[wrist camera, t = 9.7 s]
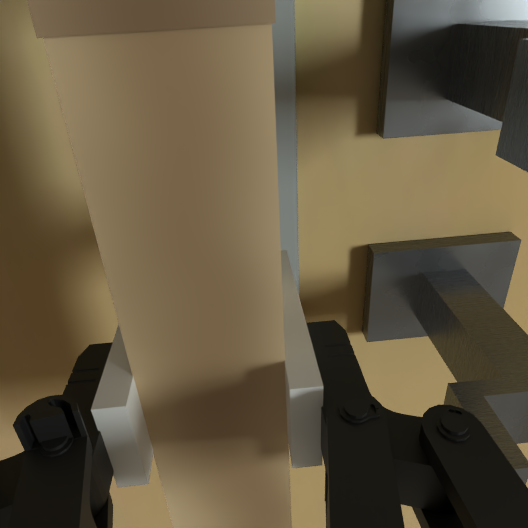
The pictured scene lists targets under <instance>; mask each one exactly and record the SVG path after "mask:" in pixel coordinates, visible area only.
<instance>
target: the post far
mask: <svg viewBox="0 0 528 528" xmlns="http://www.w3.org/2000/svg"><path fill="white" fill-rule="evenodd" d="M520 243H521V240H520V239H519V238H518V237H517V236H515V235H514V234H513V233H511V232H505V233H494V234H482V235H471V236H460V237H449V238H437V239H426V240H415V241H403V242H392V243H381V244H370V245H368V259H367V273H366V287H365V301H364V315H363V329H362V332H363V334H364V337H365V339H366V341H367V342H373V341H383V340H393V339H403V338H413V337H423V336H428V337H429V338H430V340H431V341H432V343H433V344H434V346H435V348H436V349H437V351H438V352H439V354H440V355H441V357H442V359H443V360H444V362H445V363H446V365H447V366H448V368H449V370H450V371H451V373H452V374H453V376H454V377H455V379H456V381H457V383H448V386H447V391H446V396H445V401H444V405H453V406H456V407H460V408H463V409H465V410H466V411H468V412H470V413H471V414H473V415H474V416H475V417H476V418H477V419H478V420H479V421H480V422H481V423H482V424H483V426H484V427H485V429H486V430H487V431H488V433H489V434H490V436H491V437H492V438H493V440H494V441H495V443H496V444H497V446H498V447H499V448H500V450H501V451H502V453H503V454H504V455H505V457H506V458H507V460H508V461H509V462H510V464H511V465H512V467H513V468H514V470H515V471H516V472H517V474H518V475H519V477H520V478H521V479H522V481H523V482H524V484H526V482H527V479H528V461H527V459H526V458H525V456H524V455H523V453H522V452H521V450H520V449H519V447H518V446H517V444H518V443H527V442H528V335H527V334H526V333H525V332H524V331H523V329H522V328H521V327H520V326H519V325H518V324H517V323H516V322H515V321H514V320H513V319H512V318H511V317H510V316H509V315H508V314H507V313H506V311H505V310H504V309H503V308H504V304H505V300H506V296H507V292H508V289H509V285H510V281H511V277H512V273H513V270H514V266H515V262H516V258H517V254H518V251H519V247H520Z"/></svg>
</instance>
